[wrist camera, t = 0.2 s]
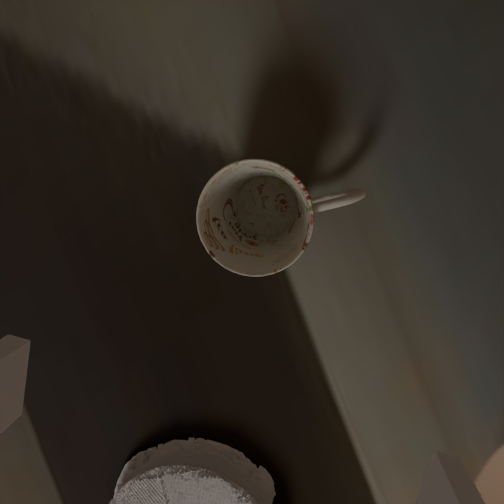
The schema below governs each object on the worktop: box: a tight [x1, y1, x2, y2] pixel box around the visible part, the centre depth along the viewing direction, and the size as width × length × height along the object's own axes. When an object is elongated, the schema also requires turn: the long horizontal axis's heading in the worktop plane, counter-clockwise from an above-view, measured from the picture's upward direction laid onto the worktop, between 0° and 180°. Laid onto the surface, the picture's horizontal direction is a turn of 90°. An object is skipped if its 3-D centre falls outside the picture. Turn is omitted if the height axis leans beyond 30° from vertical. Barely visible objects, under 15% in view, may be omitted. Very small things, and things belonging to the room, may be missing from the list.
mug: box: [196, 159, 366, 277], centre depth 35 cm, size 8×13×10 cm, turn 104°
